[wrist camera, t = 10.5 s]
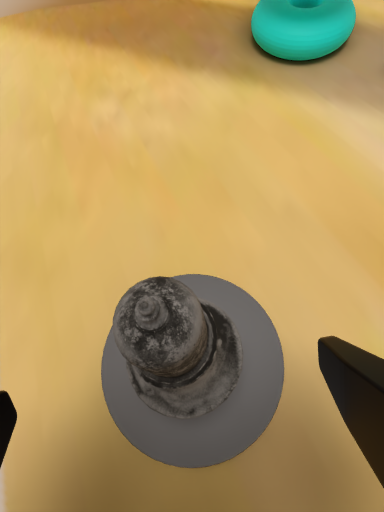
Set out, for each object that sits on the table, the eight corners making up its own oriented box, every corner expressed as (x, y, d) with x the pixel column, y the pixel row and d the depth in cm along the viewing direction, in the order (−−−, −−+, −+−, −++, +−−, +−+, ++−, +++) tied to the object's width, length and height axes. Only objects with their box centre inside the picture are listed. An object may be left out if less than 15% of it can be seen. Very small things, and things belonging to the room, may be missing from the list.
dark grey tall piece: (128, 397, 18) (-15, 389, 7) (161, 302, 20) (89, 190, 10) (226, 431, 17) (230, 482, 6) (249, 327, 19) (282, 229, 8)
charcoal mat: (296, 463, 17) (299, 466, 16) (96, 466, 17) (91, 469, 17) (269, 274, 21) (270, 269, 21) (113, 282, 22) (109, 278, 21)
